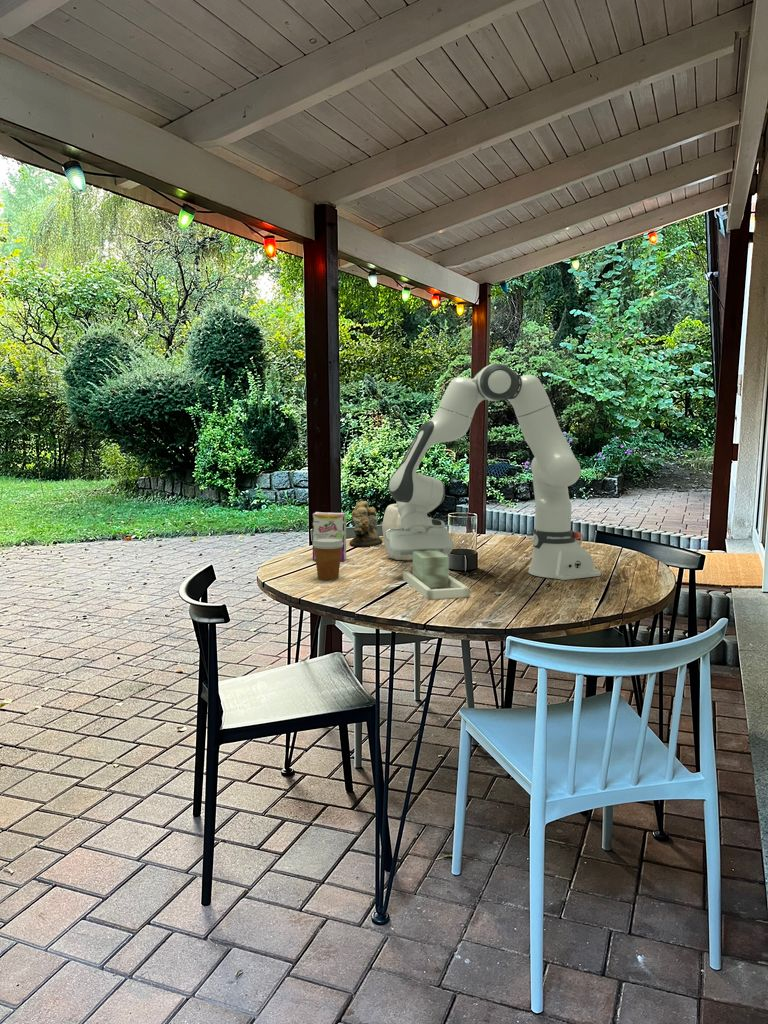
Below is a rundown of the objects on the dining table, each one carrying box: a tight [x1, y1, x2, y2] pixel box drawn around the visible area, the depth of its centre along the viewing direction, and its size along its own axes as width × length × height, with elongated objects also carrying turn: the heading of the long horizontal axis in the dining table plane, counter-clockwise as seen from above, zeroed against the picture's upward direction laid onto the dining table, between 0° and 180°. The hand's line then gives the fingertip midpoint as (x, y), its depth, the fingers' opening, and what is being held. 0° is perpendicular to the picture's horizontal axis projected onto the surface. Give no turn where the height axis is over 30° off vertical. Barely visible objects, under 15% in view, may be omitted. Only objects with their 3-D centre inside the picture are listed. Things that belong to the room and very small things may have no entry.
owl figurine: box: [349, 500, 383, 548], centre depth 279 cm, size 18×12×17 cm, turn 162°
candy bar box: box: [312, 511, 347, 562], centre depth 248 cm, size 11×5×16 cm, turn 84°
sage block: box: [412, 550, 450, 589], centre depth 213 cm, size 8×10×9 cm
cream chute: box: [402, 570, 471, 600], centre depth 209 cm, size 12×26×2 cm, turn 14°
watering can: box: [381, 503, 413, 561], centre depth 253 cm, size 16×27×19 cm, turn 169°
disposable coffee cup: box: [312, 537, 343, 581], centre depth 221 cm, size 10×10×12 cm
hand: (424, 564), depth 218 cm, fingers closed, pressing on sage block
